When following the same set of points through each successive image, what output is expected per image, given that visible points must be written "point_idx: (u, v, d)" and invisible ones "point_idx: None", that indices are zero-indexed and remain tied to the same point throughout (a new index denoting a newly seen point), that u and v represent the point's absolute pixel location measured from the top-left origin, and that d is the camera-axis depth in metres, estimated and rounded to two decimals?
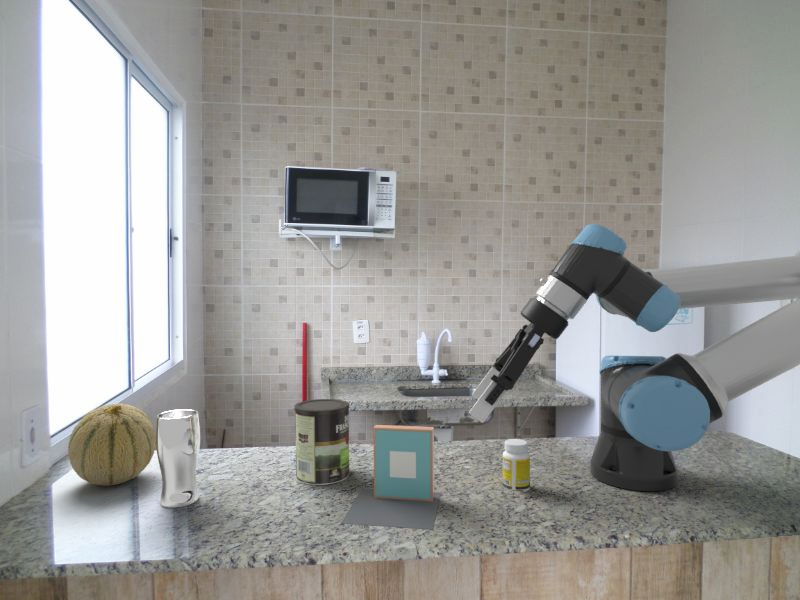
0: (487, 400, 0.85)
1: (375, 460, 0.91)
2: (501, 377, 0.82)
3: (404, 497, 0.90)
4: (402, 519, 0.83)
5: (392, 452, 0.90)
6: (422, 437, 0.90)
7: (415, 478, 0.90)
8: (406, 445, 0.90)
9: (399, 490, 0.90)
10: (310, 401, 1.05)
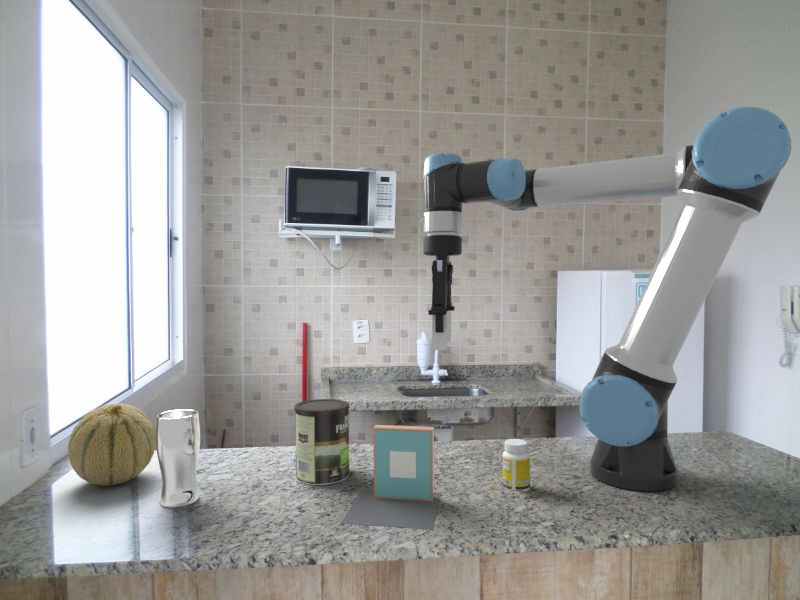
0: (437, 331, 0.99)
1: (375, 460, 0.91)
2: (432, 307, 0.98)
3: (404, 497, 0.90)
4: (402, 519, 0.83)
5: (392, 452, 0.90)
6: (422, 437, 0.90)
7: (415, 478, 0.90)
8: (406, 445, 0.90)
9: (399, 490, 0.90)
10: (310, 401, 1.05)
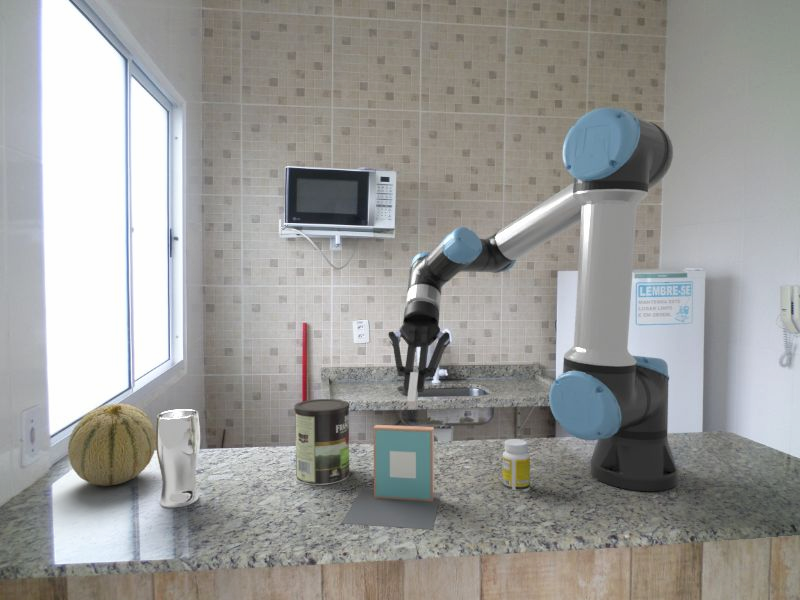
0: (404, 389, 1.04)
1: (375, 460, 0.91)
2: None
3: (404, 497, 0.90)
4: (402, 519, 0.83)
5: (392, 452, 0.90)
6: (422, 437, 0.90)
7: (415, 478, 0.90)
8: (406, 445, 0.90)
9: (399, 490, 0.90)
10: (310, 401, 1.05)
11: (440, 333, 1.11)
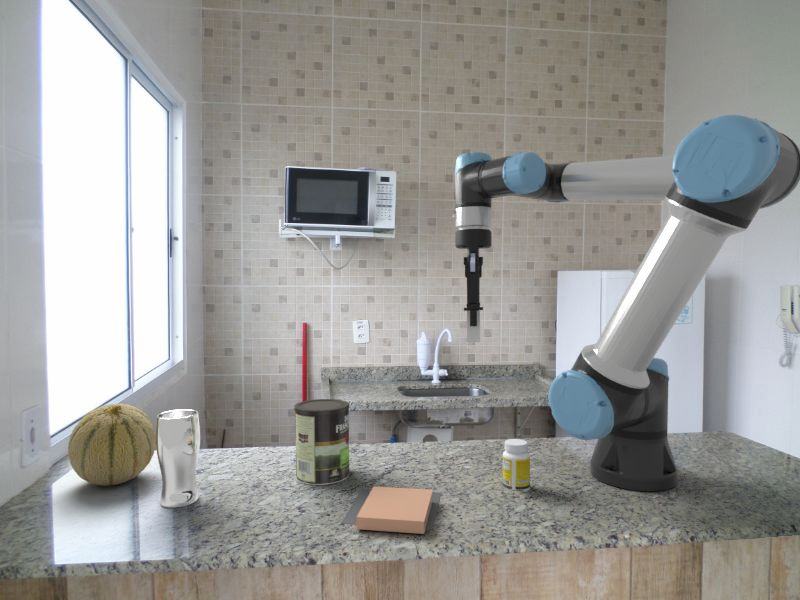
0: (471, 325, 1.12)
1: None
2: (468, 305, 1.10)
3: None
4: None
5: None
6: None
7: None
8: None
9: None
10: (310, 401, 1.05)
11: None
